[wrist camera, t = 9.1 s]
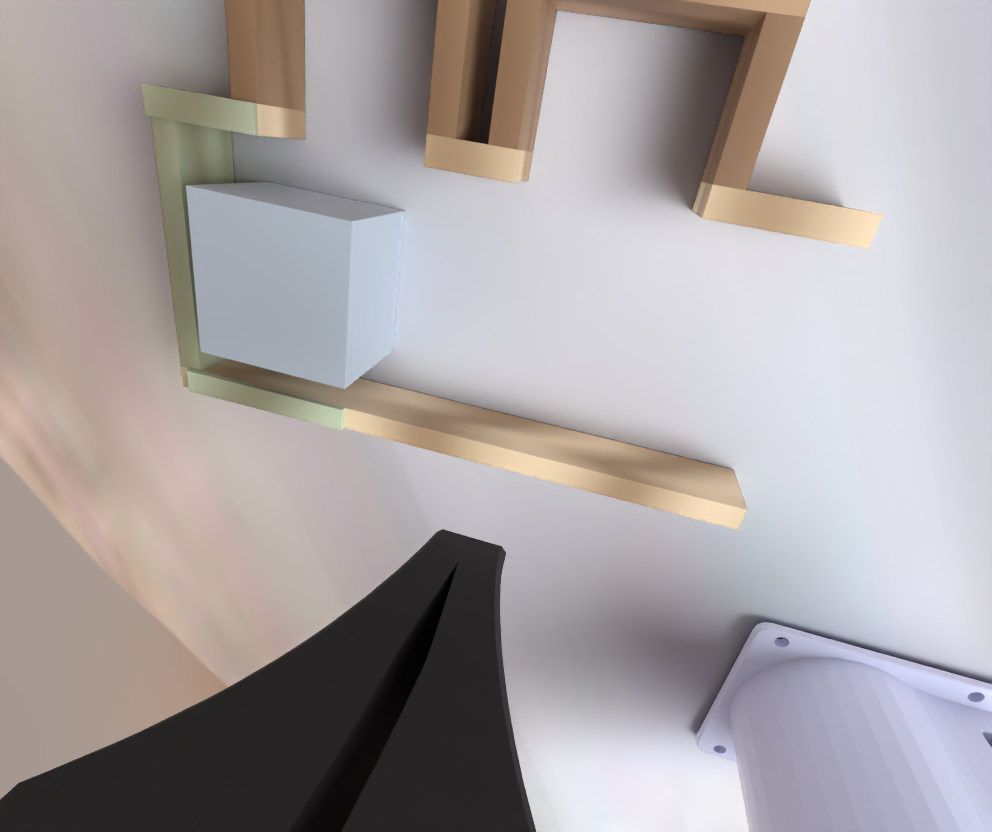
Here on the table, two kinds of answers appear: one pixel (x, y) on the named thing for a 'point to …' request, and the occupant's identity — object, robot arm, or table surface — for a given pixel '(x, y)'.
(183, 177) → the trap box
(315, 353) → the block
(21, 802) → the robot arm
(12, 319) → the table surface
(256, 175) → the table surface
